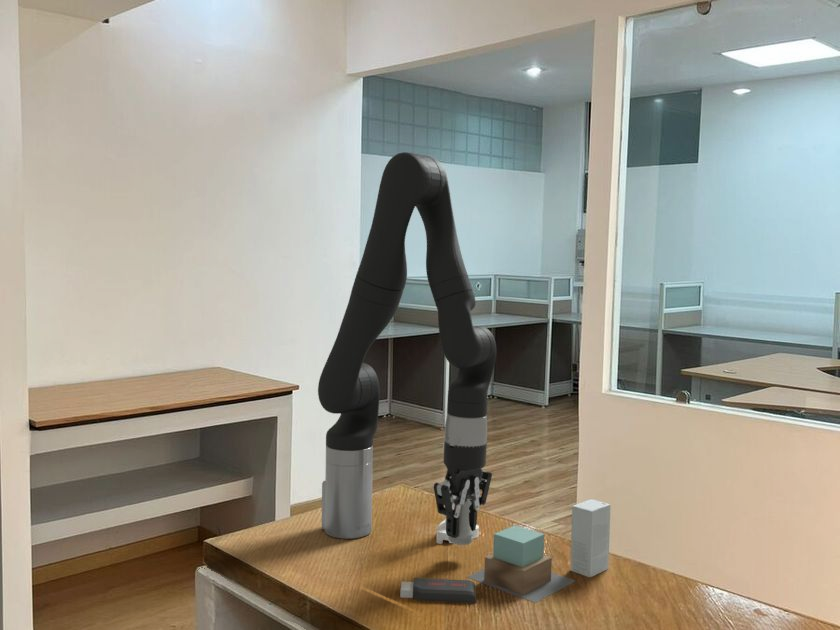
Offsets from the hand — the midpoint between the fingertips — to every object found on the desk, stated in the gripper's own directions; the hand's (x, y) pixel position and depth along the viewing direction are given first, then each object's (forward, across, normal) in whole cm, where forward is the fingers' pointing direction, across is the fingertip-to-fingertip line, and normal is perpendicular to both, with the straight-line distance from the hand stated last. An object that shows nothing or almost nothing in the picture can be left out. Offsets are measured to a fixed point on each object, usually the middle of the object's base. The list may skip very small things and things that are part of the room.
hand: (461, 532), depth 139 cm
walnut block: (+5, 0, +13) cm, 14 cm away
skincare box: (+5, -13, +19) cm, 23 cm away
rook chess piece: (+2, 0, 0) cm, 2 cm away
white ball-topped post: (+6, -10, -8) cm, 14 cm away
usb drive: (+6, +14, +7) cm, 16 cm away
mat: (+5, -1, +13) cm, 14 cm away
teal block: (+1, 0, +13) cm, 13 cm away
